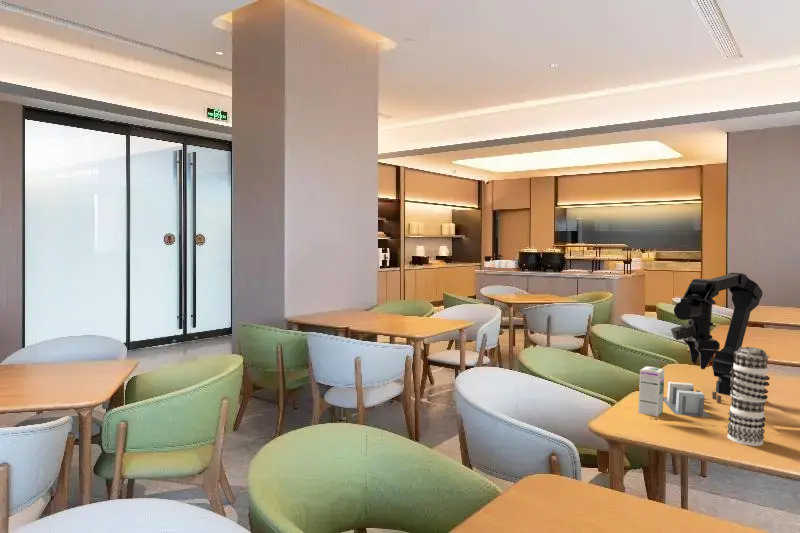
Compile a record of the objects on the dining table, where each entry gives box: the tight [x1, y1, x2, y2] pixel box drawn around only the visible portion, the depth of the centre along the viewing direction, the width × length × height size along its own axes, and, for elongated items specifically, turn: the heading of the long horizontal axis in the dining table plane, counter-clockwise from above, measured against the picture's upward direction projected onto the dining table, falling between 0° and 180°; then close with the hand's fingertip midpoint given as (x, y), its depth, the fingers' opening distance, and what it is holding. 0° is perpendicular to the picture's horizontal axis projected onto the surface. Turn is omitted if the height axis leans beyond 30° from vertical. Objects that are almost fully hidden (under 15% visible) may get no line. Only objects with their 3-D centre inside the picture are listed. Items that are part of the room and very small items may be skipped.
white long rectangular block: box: [676, 390, 705, 413], centre depth 173 cm, size 7×2×6 cm, turn 79°
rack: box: [663, 386, 711, 418], centre depth 178 cm, size 10×18×7 cm, turn 169°
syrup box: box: [637, 366, 665, 421], centre depth 171 cm, size 6×6×14 cm
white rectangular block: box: [666, 381, 695, 402], centre depth 183 cm, size 7×2×6 cm, turn 79°
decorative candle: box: [726, 346, 771, 447], centre depth 153 cm, size 9×9×25 cm
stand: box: [695, 389, 722, 404], centre depth 186 cm, size 8×6×3 cm
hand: (698, 365), depth 185 cm, fingers open, 9 cm apart
